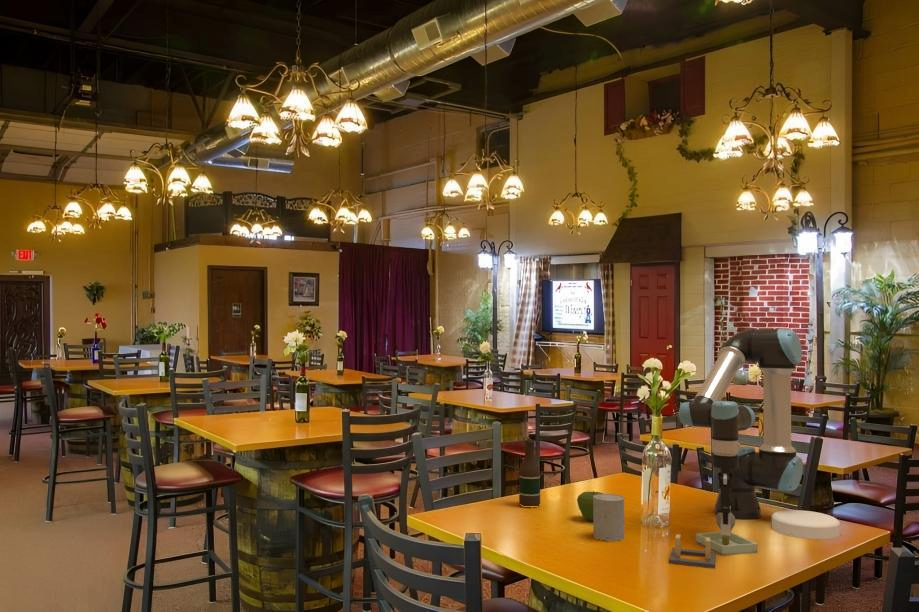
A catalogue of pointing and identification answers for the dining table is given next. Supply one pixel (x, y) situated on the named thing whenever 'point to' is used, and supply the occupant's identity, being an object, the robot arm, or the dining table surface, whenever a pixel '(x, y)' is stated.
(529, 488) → the beer bottle
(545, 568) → the dining table surface
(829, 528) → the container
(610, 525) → the gray cylinder
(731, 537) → the parts tray
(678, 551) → the frame
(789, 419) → the robot arm
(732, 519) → the light bulb
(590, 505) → the apple
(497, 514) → the dining table surface
